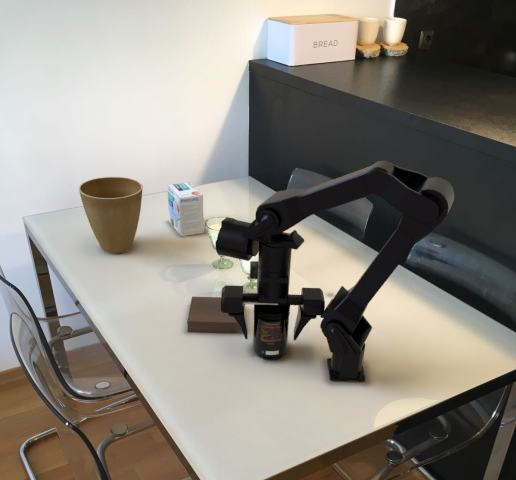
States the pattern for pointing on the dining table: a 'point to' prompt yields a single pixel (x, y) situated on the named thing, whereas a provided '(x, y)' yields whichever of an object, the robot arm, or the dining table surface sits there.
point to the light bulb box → (185, 208)
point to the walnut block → (209, 316)
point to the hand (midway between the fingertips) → (270, 338)
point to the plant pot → (112, 211)
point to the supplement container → (270, 330)
